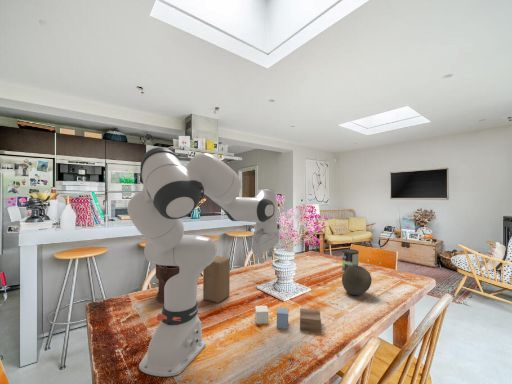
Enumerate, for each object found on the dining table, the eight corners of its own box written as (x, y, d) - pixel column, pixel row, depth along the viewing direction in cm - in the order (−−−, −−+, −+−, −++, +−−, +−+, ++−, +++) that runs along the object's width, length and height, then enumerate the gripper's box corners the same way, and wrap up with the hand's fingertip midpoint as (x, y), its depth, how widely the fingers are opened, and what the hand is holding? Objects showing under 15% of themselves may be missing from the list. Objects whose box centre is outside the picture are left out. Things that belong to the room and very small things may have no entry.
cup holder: (199, 290, 131) (199, 244, 131) (175, 312, 108) (175, 256, 108) (169, 286, 136) (169, 242, 135) (139, 307, 112) (139, 253, 112)
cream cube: (268, 323, 100) (268, 311, 100) (256, 323, 99) (256, 311, 99) (266, 317, 105) (266, 305, 105) (255, 317, 104) (255, 305, 104)
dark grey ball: (352, 301, 119) (352, 271, 119) (336, 289, 133) (337, 262, 133) (376, 299, 122) (377, 269, 122) (359, 287, 136) (359, 261, 136)
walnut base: (320, 333, 94) (320, 320, 93) (299, 330, 95) (300, 318, 95) (319, 321, 101) (319, 310, 101) (300, 319, 103) (300, 308, 103)
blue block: (287, 329, 96) (287, 314, 96) (276, 327, 97) (276, 312, 96) (288, 323, 100) (288, 308, 100) (277, 321, 101) (277, 307, 101)
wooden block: (202, 299, 120) (202, 259, 120) (214, 291, 129) (214, 254, 129) (218, 304, 116) (218, 262, 116) (230, 295, 125) (230, 257, 124)
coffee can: (344, 273, 159) (344, 252, 159) (340, 268, 169) (341, 248, 169) (360, 274, 158) (360, 253, 157) (356, 269, 168) (356, 249, 168)
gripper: (263, 232, 91) (263, 268, 91) (281, 224, 109) (281, 254, 110) (248, 230, 93) (248, 266, 94) (268, 223, 112) (268, 252, 112)
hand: (266, 259), depth 102 cm, fingers open, 8 cm apart
